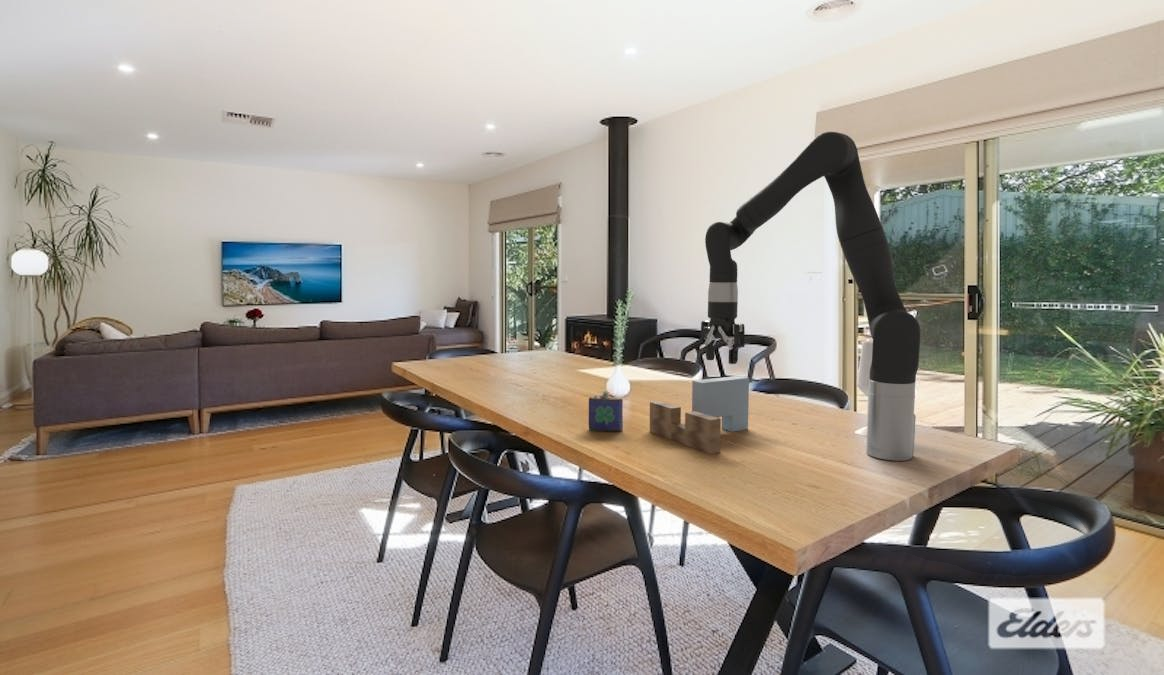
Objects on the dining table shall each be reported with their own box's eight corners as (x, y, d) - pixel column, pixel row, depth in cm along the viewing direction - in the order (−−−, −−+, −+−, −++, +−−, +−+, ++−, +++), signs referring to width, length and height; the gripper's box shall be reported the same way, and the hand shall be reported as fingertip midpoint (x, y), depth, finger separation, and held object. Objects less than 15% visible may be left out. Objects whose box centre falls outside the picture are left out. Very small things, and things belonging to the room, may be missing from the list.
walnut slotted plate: (649, 431, 158) (649, 402, 158) (658, 430, 160) (659, 400, 159) (710, 454, 137) (710, 420, 137) (720, 452, 139) (720, 418, 138)
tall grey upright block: (691, 433, 156) (692, 380, 155) (737, 426, 164) (738, 375, 163) (701, 436, 153) (702, 382, 152) (748, 429, 161) (749, 377, 159)
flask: (623, 429, 161) (623, 390, 160) (622, 432, 158) (621, 392, 157) (589, 428, 162) (589, 389, 161) (587, 431, 159) (587, 391, 158)
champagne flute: (872, 429, 159) (876, 340, 157) (889, 436, 153) (893, 343, 150) (849, 430, 158) (852, 340, 156) (864, 437, 152) (868, 343, 150)
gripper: (753, 300, 151) (751, 364, 152) (715, 299, 163) (713, 357, 165) (731, 301, 147) (729, 366, 149) (693, 299, 159) (692, 359, 161)
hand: (721, 361), depth 157 cm, fingers open, 8 cm apart
